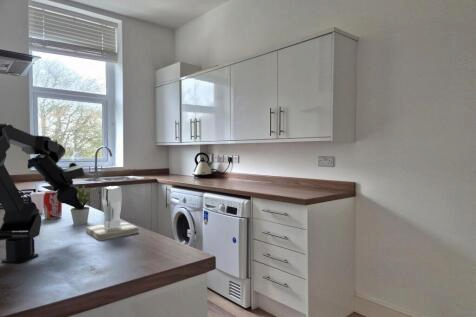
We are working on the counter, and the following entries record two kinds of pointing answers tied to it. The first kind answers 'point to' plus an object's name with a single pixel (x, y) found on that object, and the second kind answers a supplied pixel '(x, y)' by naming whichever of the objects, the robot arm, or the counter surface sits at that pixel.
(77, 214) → the house plant
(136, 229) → the shelf board
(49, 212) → the soda can
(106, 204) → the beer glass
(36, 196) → the smoothie
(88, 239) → the counter surface
